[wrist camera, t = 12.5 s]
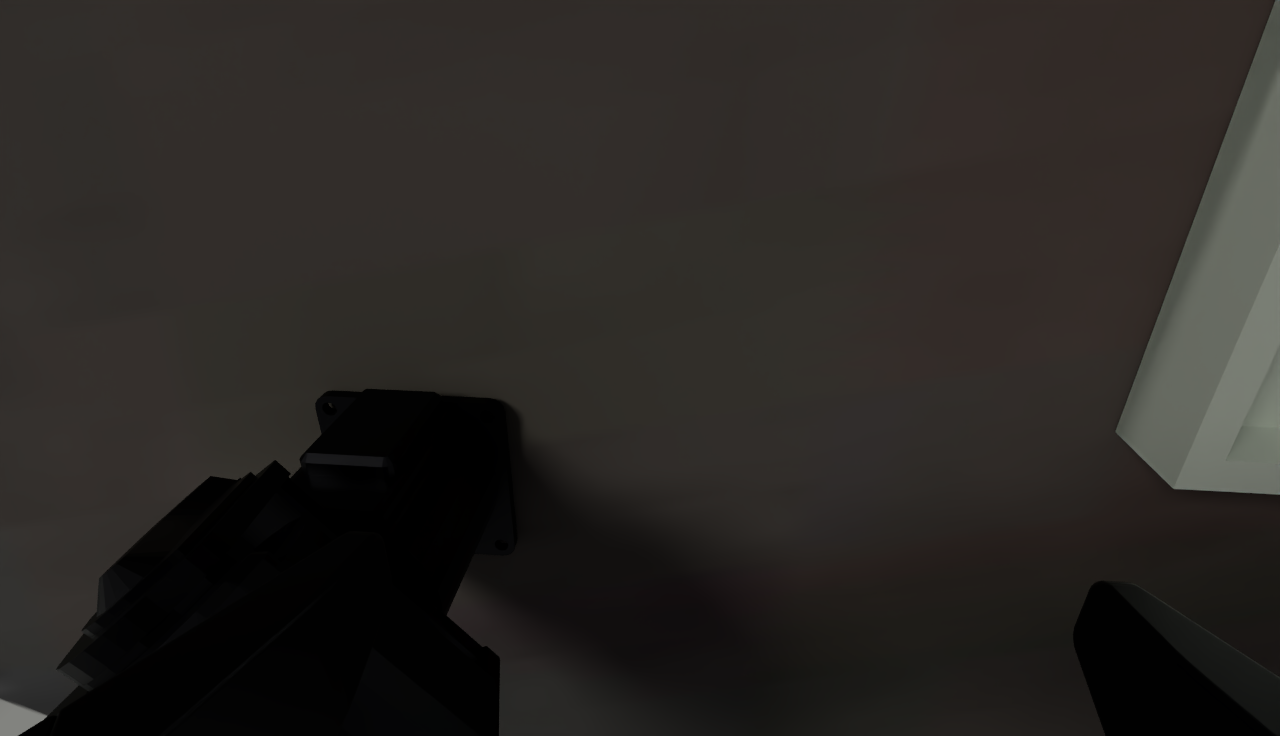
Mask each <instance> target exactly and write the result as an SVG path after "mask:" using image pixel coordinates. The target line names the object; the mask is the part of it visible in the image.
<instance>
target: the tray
mask: <svg viewBox="0 0 1280 736" xmlns="http://www.w3.org/2000/svg"><path fill="white" fill-rule="evenodd" d="M1115 432H1116V433H1117V434H1118V435H1119V436H1120V437H1121V438H1122V439H1123V440H1124V441H1125V442H1126V443H1127V444H1128V445H1129V446H1130V447H1131V448H1132V449H1133V450H1134V451H1135V452H1136V453H1137V454H1138V455H1139V456H1140V457H1141V458H1142V459H1143V460H1144V461H1145V462H1146V463H1147V464H1148V465H1149V466H1151V467H1152V468H1153V469H1154V470H1155V471H1156V472H1157V473H1158V474H1159V475H1160V476H1161V477H1162V478H1163V479H1164V480H1165V481H1166V482H1167V483H1168V484H1169V485H1170V486H1171V487H1172V488H1173V489H1187V490H1205V491H1223V492H1242V493H1260V494H1278V495H1280V0H1275V3H1274V5H1273V8H1272V11H1271V14H1270V16H1269V19H1268V22H1267V24H1266V27H1265V30H1264V32H1263V35H1262V38H1261V40H1260V43H1259V46H1258V49H1257V51H1256V54H1255V57H1254V59H1253V62H1252V65H1251V67H1250V70H1249V73H1248V76H1247V78H1246V81H1245V84H1244V86H1243V89H1242V92H1241V94H1240V97H1239V100H1238V102H1237V105H1236V108H1235V111H1234V113H1233V116H1232V119H1231V121H1230V124H1229V127H1228V129H1227V132H1226V135H1225V138H1224V140H1223V143H1222V146H1221V148H1220V151H1219V154H1218V156H1217V159H1216V162H1215V164H1214V167H1213V170H1212V173H1211V175H1210V178H1209V181H1208V183H1207V186H1206V189H1205V191H1204V194H1203V197H1202V200H1201V202H1200V205H1199V208H1198V210H1197V213H1196V216H1195V218H1194V221H1193V224H1192V226H1191V229H1190V232H1189V235H1188V237H1187V240H1186V243H1185V245H1184V248H1183V251H1182V253H1181V256H1180V259H1179V262H1178V264H1177V267H1176V270H1175V272H1174V275H1173V278H1172V280H1171V283H1170V286H1169V288H1168V291H1167V294H1166V297H1165V299H1164V302H1163V305H1162V307H1161V310H1160V313H1159V315H1158V318H1157V321H1156V324H1155V326H1154V329H1153V332H1152V334H1151V337H1150V340H1149V342H1148V345H1147V348H1146V350H1145V353H1144V356H1143V359H1142V361H1141V364H1140V367H1139V369H1138V372H1137V375H1136V377H1135V380H1134V383H1133V386H1132V388H1131V391H1130V394H1129V396H1128V399H1127V402H1126V404H1125V407H1124V410H1123V412H1122V415H1121V418H1120V421H1119V423H1118V426H1117V429H1116V431H1115Z"/></svg>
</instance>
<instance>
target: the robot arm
mask: <svg viewBox="0 0 1280 736" xmlns="http://www.w3.org/2000/svg"><path fill="white" fill-rule="evenodd" d="M328 403H332V404H333V405H334V406H335V407H336V409H337V410H336V409H333V408H331V407H330V406H329V404H328ZM315 407H316V412H317V417H318V421H319V425H320V429H321V433H322V435H321V436H320V437H319V438H318V439H317V440H316V441H315V442H314V443H313V444H312V445H311V446H310V447H309V448H308V449H307V450H306V451H305V453H304V454H303V455H302V456H301V457H300V459H299V460H300V463H301V468H300V469H299V470H298V471H297V472H296V473H295V474H294V475H293V476H292V477H291V478H289V475H290V474H291V473H290V472H288V471H287V470H286V469H285V468H284V467H283V466H282V465H280V464H279V463H278V462H277V461H276V460H274V461H273V462H272V463H271V464H269V465H268V466H267V467H266V468H264V469H263V470H262V471H261V472H259V473H258V474H257V475H256V476H255V475H254V474H253V473H251V472H250V473H248V474H247V475H246V476H245V477H243V478H242V479H241V478H239V479H238V480H233V479H226V478H219V477H213V476H210V477H209V478H208V479H207V480H205V481H204V482H203V483H202V484H201V485H199V486H198V487H197V488H196V489H195V490H194V491H193V492H191V493H190V494H189V495H188V496H187V497H186V498H185V499H184V500H183V501H181V502H180V503H179V504H178V505H177V506H176V507H175V508H174V509H172V510H171V511H170V512H169V513H168V514H167V515H166V516H165V517H163V518H162V519H161V520H160V521H159V522H158V523H157V524H156V525H155V526H153V527H152V528H151V529H150V530H149V531H148V532H147V533H146V534H145V535H144V536H143V537H142V538H140V539H139V540H138V541H137V542H136V543H135V544H134V545H133V546H132V547H131V548H130V549H129V550H128V551H127V552H126V553H125V554H124V555H123V556H122V557H121V558H120V559H119V560H118V561H116V562H115V563H114V564H113V565H112V566H111V567H110V568H109V569H108V570H107V571H106V572H105V573H104V574H103V575H102V576H101V577H100V578H99V586H98V601H97V612H96V613H95V614H94V615H93V616H92V618H91V619H90V620H89V621H88V623H87V624H86V625H85V626H84V628H83V629H82V632H83V633H84V634H83V635H82V636H81V638H80V639H79V640H78V642H77V643H76V644H75V645H74V647H73V648H72V649H71V650H70V652H69V653H68V654H67V655H66V657H65V658H64V659H63V660H62V662H61V663H60V664H59V666H58V667H57V669H56V670H57V671H58V672H60V673H61V674H63V675H64V676H66V677H67V678H69V679H70V680H72V681H73V682H75V683H76V684H78V685H79V686H78V687H77V688H76V689H75V690H74V691H73V692H72V693H71V694H70V695H69V696H68V697H67V698H65V699H64V700H63V701H62V702H61V703H60V704H59V705H58V706H57V707H56V708H55V709H54V710H53V711H52V712H51V713H50V714H49V715H48V716H47V717H46V718H45V719H44V720H43V721H41V722H39V723H38V724H36V725H35V726H33V727H31V728H30V729H28V730H27V731H25V732H23V733H22V734H20V735H19V736H499V686H500V658H499V656H497V655H496V654H495V653H494V652H493V651H492V650H491V649H490V648H488V647H487V646H485V647H482V646H481V645H479V644H478V643H477V642H476V641H475V640H474V639H473V638H471V637H470V636H469V635H468V634H467V633H466V632H465V631H463V630H462V629H461V628H460V627H459V626H458V625H457V624H455V623H454V622H453V621H452V620H451V619H450V618H449V617H447V616H446V615H447V613H448V611H449V608H450V606H451V604H452V602H453V600H454V597H455V595H456V593H457V591H458V588H459V586H460V584H461V582H462V579H463V577H464V575H465V573H466V571H467V568H468V566H469V564H470V562H471V559H472V557H473V555H474V554H489V555H509V554H511V553H512V552H513V551H514V549H515V546H516V543H517V529H516V519H515V509H514V498H513V488H512V478H511V468H510V457H509V447H508V437H507V426H506V416H505V410H504V407H503V406H502V404H501V403H500V402H498V401H497V400H495V399H491V398H475V397H454V396H441V395H439V394H437V393H435V392H422V391H401V390H380V389H366V390H364V391H363V392H350V391H327V392H326V393H324V394H323V395H322V396H321V397H320V398H319V399H318V400H317V401H316V403H315ZM485 410H487V411H491V412H492V413H493V414H494V417H492V418H491V417H487V416H486V415H485V414H484V411H485ZM499 540H504V541H506V542H507V543H502V542H501V541H499ZM1073 641H1074V647H1075V650H1076V653H1077V656H1078V659H1079V662H1080V665H1081V668H1082V670H1083V673H1084V676H1085V679H1086V682H1087V685H1088V687H1089V690H1090V693H1091V696H1092V699H1093V702H1094V704H1095V707H1096V710H1097V713H1098V716H1099V719H1100V721H1101V724H1102V727H1103V730H1104V733H1105V736H1280V677H1278V676H1277V675H1275V674H1274V673H1272V672H1270V671H1269V670H1267V669H1266V668H1264V667H1263V666H1261V665H1260V664H1258V663H1257V662H1255V661H1253V660H1252V659H1250V658H1249V657H1247V656H1246V655H1244V654H1243V653H1241V652H1240V651H1238V650H1237V649H1235V648H1233V647H1232V646H1230V645H1229V644H1227V643H1226V642H1224V641H1223V640H1221V639H1220V638H1218V637H1216V636H1215V635H1213V634H1212V633H1210V632H1209V631H1207V630H1206V629H1204V628H1203V627H1201V626H1200V625H1198V624H1196V623H1195V622H1193V621H1192V620H1190V619H1189V618H1187V617H1186V616H1184V615H1183V614H1181V613H1179V612H1178V611H1176V610H1175V609H1173V608H1172V607H1170V606H1169V605H1167V604H1166V603H1164V602H1163V601H1161V600H1159V599H1158V598H1156V597H1155V596H1153V595H1152V594H1150V593H1149V592H1147V591H1146V590H1144V589H1142V588H1141V587H1139V586H1138V585H1135V584H1133V583H1128V582H1114V581H1098V582H1096V583H1094V584H1093V585H1092V586H1091V588H1090V590H1089V592H1088V594H1087V597H1086V599H1085V602H1084V604H1083V607H1082V609H1081V612H1080V614H1079V617H1078V619H1077V622H1076V624H1075V627H1074V633H1073Z"/></svg>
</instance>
